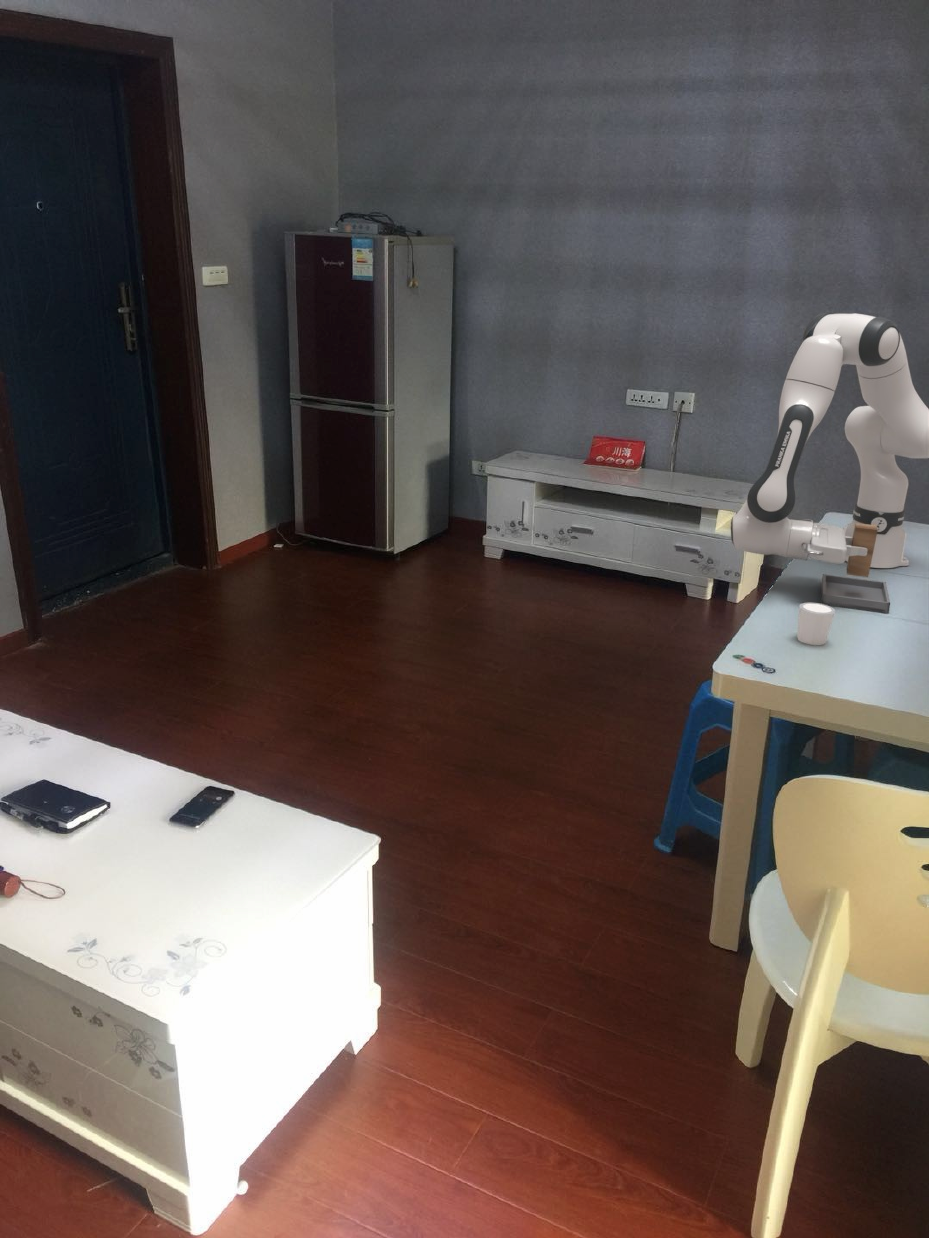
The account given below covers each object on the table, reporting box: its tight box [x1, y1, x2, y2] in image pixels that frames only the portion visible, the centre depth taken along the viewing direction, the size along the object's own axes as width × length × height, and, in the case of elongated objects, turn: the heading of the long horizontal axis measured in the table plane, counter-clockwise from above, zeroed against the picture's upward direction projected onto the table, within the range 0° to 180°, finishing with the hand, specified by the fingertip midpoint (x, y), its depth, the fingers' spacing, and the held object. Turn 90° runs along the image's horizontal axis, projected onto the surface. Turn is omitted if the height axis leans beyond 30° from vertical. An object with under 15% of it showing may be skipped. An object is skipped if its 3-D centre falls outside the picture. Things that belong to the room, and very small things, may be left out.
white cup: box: [796, 602, 836, 646], centre depth 195 cm, size 7×7×7 cm
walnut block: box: [846, 523, 878, 578], centre depth 218 cm, size 4×4×11 cm
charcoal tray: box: [820, 573, 891, 614], centre depth 221 cm, size 16×14×2 cm
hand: (866, 548), depth 217 cm, fingers closed on walnut block, 4 cm apart
